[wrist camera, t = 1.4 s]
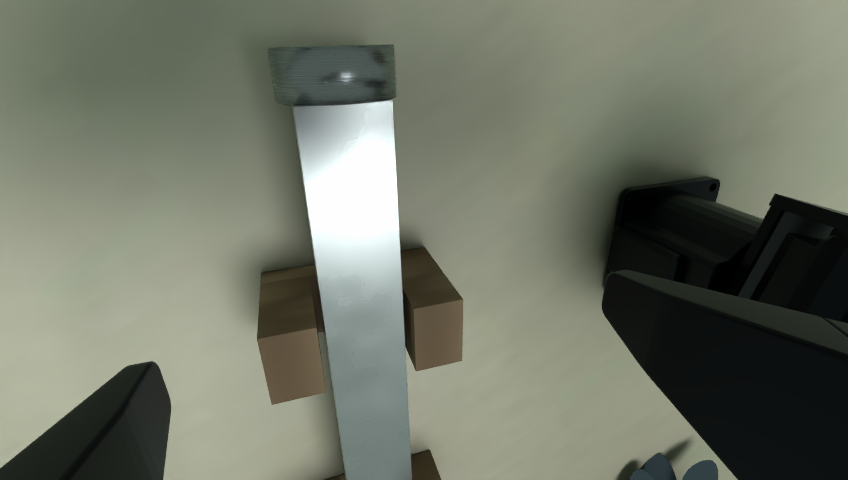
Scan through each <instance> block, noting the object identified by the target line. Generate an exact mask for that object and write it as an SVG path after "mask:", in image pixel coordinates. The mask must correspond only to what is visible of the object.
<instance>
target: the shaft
mask: <svg viewBox="0 0 848 480" xmlns="http://www.w3.org/2000/svg"><path fill="white" fill-rule="evenodd" d="M267 50H268V56H269V62H270V69H271V75H272V81H273V88H274V94H275V100H276V102H277V103H279V104H284V105H292V112H293V119H294V126H295V133H296V140H297V147H298V154H299V160H300V167H301V174H302V181H303V188H304V195H305V202H306V209H307V216H308V223H309V230H310V236H311V243H312V250H313V257H314V264H315V271H316V278H317V285H318V292H319V299H320V305H321V312H322V319H323V326H324V333H325V340H326V347H327V354H328V361H329V368H330V375H331V381H332V388H333V395H334V402H335V409H336V416H337V423H338V430H339V437H340V444H341V451H342V457H343V464H344V471H345V478H346V480H412V470H411V450H410V431H409V412H408V392H407V373H406V354H405V334H404V315H403V296H402V276H401V257H400V238H399V218H398V199H397V180H396V160H395V141H394V122H393V102H392V100H389V99H392V98H395V97H396V78H395V57H394V45H347V46H310V47H278V48H267Z"/></svg>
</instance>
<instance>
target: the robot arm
mask: <svg viewBox="0 0 848 480" xmlns="http://www.w3.org/2000/svg"><path fill="white" fill-rule="evenodd" d="M719 187H720V181H719V180H718V179H715V178H712V177H706V178H698V179H691V180H684V181H676V182H669V183H661V184H654V185H647V186H639V187H632V188H627V189H625V190H624V191H623V192H622V193H621V194H620V197H619V203H618V208H617V214H616V220H615V226H614V232H613V238H612V243H611V249H610V255H609V261H608V267H607V273H606V278H605V284H604V293H603V299H602V311H603V313H604V315H605V317H606V318H607V320H608V321H609V323H610V324H611V325H612V327H613V328H614V330H615V331H616V332H617V334H618V335H619V337H620V338H621V339H622V341H623V342H624V344H625V345H626V346H627V348H628V349H629V351H630V352H631V353H632V355H633V356H634V358H635V359H636V360H637V362H638V363H639V365H640V366H641V367H642V369H643V370H644V371H645V372H646V373H647V375H648V376H649V377H650V378H651V380H652V381H653V382H654V383H655V384H656V385H657V387H658V388H659V389H660V390H661V391H662V392H663V393H664V395H665V396H666V397H667V398H668V399H669V400H670V402H671V403H672V404H673V405H674V406H675V407H676V409H677V410H678V411H679V412H680V413H681V414H682V416H683V417H684V418H685V419H686V420H687V421H688V422H689V424H690V425H691V426H692V427H693V428H694V429H695V431H696V432H697V433H698V434H699V435H700V436H701V438H702V439H703V440H704V441H705V442H706V443H707V445H708V446H709V447H710V448H711V449H712V450H713V451H714V453H715V454H716V455H717V456H718V457H719V458H720V460H721V461H722V462H723V463H724V464H725V465H726V467H727V468H728V469H729V470H730V471H731V472H732V474H733V475H734V476H735V477H736V478H737V479H738V480H848V214H847V213H844V212H841V211H837V210H834V209H830V208H826V207H823V206H819V205H815V204H811V203H808V202H804V201H800V200H797V199H793V198H789V197H786V196H782V195H778V194H774V196H773V198H772V200H771V202H770V204H769V205H770V206H771V207H770V209H769V210H768V212H767V214H766V216H765V218H764V219H761V218H758V217H755V216H752V215H750V214H747V213H744V212H741V211H738V210H736V209H733V208H730V207H727V206H724V205H722V204H719V203H716V199H717V195H718V191H719ZM630 196H631V198H630V199H629V197H630ZM628 199H629V200H628ZM170 416H171V402H170V397H169V394H168V391H167V388H166V386H165V383H164V380H163V377H162V374H161V371H160V369H159V366H158V365H157V364H156V363H155V362H153V361H150V362H145V363H139V364H134V365H129V366H127V367H125V368H124V369H122V370H121V371H120V372H119V373H117V374H116V375H115V376H114V377H113V378H111V379H110V380H109V381H108V382H106V383H105V384H104V385H103V386H101V387H100V388H99V389H98V390H96V391H95V392H94V393H93V394H92V395H90V396H89V397H88V398H87V399H85V400H84V401H83V402H82V403H80V404H79V405H78V406H77V407H75V408H74V409H73V410H72V411H71V412H69V413H68V414H67V415H66V416H64V417H63V418H62V419H61V420H59V421H58V422H57V423H56V424H54V425H53V426H52V427H51V428H50V429H48V430H47V431H46V432H45V433H43V434H42V435H41V436H40V437H38V438H37V439H36V440H35V441H33V442H32V443H31V444H30V445H29V446H27V447H26V448H25V449H24V450H22V451H21V452H20V453H19V454H17V455H16V456H15V457H14V458H12V459H11V460H10V461H9V462H8V463H6V464H5V465H4V466H3V467H1V468H0V480H163V475H164V467H165V458H166V450H167V441H168V433H169V424H170Z"/></svg>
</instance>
